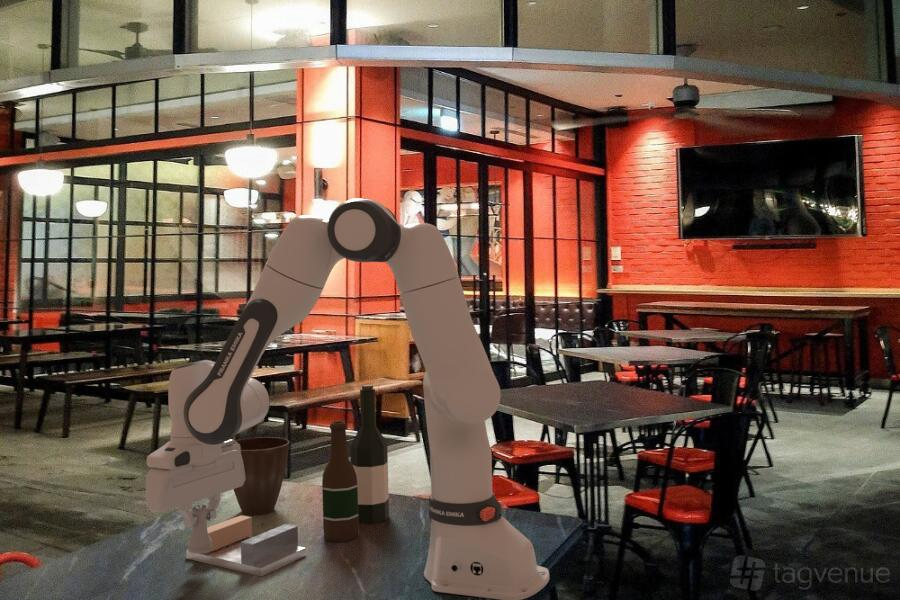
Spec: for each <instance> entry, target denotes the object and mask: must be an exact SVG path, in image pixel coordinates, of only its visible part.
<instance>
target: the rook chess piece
mask: <svg viewBox="0 0 900 600" xmlns="http://www.w3.org/2000/svg"><path fill="white" fill-rule="evenodd" d="M191 507H192V508H191V511H190V513H191V514H192V516H197V521H196V522H197V525H196V526H194V527H192V528H191V529H192V530H191V535H190V537H189V540H188V541H187V546H188V547H187V548H186V549H187V550H188V551H189V552H191V553H204V552H207V551H209V550H210V549H211V548H212V545H211V542H212V540H211V538H210V537H209V534H208V531H207V527H208V525H207V522H208V519H207V518H206V515H207V513H208V512H209V511H208V509H207V507H208V505H205V504H202V505H200V504H197V506H196V505H193V506H191Z"/></svg>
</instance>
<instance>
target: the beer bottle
mask: <svg viewBox="0 0 900 600" xmlns="http://www.w3.org/2000/svg"><path fill="white" fill-rule="evenodd" d="M329 424H330V425H329V429H330V448H329V449H330V453H329V461H328V462H327V464H326V465H325V467H324V470H323V473H322V478H321V479H322V480H321V484H322V485H321V487H322V488H321V489H322V490H321V491H322V517H323V518H322V521H323V523H322V525H323V538H324V540H325V541H328V542H333V543H339V542H340V543H341V542H343V543H344V542H349V541H352V540H354V539H356V538H358V537H359V528H360V527H359V524H360V523H358V485H357V476H356V472H355V470H354V467H353V465H352V464H351V460H350V459H349V454H348V442H347V433H346V432H347V431H346V429H347V428H348V426H347V423H346V422H345V421H341V420H339V421H338V420H337V421H332V422H330V423H329Z"/></svg>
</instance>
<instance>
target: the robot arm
mask: <svg viewBox="0 0 900 600" xmlns="http://www.w3.org/2000/svg"><path fill="white" fill-rule="evenodd" d="M344 259H346V260H348V261H351V262H355V263H356V262H357V263H385V264H387V266H388V267H389V268H390V270H391V271H392V274H393V277H394V279H395V283H396V287H397V290H398V293H399V296H400V297H399V298H400V300H401V301H400V302H401V303H402V307H403V311H404V315H405V318H406V320H407V324H408V327H409V331H410V334H411V336H412V339H413V341H414V344H415V346H416V348H417V351H418V354H419V356H420V358H421V361H422V364H423V367H424V370H425V372H424V375H423V378H422V385H423V386H422V388H423V400H424V411H425V421H426V430H427V438H428V446H429V455H430V459H429V460H430V463H429V465H430V492H431V493H430V495H429V496H428V515H429V516H428V517H429V518H428V519H429V522H430V534H429V535H430V536H429V547H428V552H427V553H428V554H427V558H426V564H425V566H424V570H423V576H424V578H425V579H426V580H427V581H428V582H429V583H430V585H431V590H432V591H434V592H437V593H445V594H452V595H460V596H461V595H462V596H470V597H475V598H477V597H478V598H484V599H492V600H493V599H495V600H524V599H527V598H529V597H532V596H533V595H536V594H537V593H538V592H540V591H541V590H542V589H544V588H545V587H546V585H547V584H548V583H549V581H550V576H551V575H550V570H549V568H547V567H544V566H540V565H538V564H537V563H538V562H537V558H536V552H535V549H534V545H533V543H532V542H531V540H530V539H528V537H526V536H525V535H524V534H523V533H522V532H520V530H518V529H517V528H516V527H514V525H512V524H511V523H510V521H508V520H507V519H506V518H505V517H503V513H502V509H503V508H505V507H506V504H505V503H506V502H507V501H506V499H503V500H501V501H499V500H498V499H497V497H496V495H495V494H494V493H493V467H492V465H493V463H492V459H493V458H492V448H491V445H490V444H491V443H490V441H489V437H488V431H487V430H488V429H487V425H486V421H487V420H489V419H490V418H491V417H492V416H494V414H495V413H496V412H497V410H498V408H499V405H500V402H501V397H502V396H501V395H502V394H501V392H502V391H501V387H500V384H499V382H498V380H497V378H496V376H495V373H494V371H493V368H492V365H491V363H490V360H489V358H488V354H487V353H486V350H485V348H484V345H483V343H482V340H481V338H480V336H479V332H478V331H477V329H476V327H475V324H474V322H473V319H472V316H471V313H470V310H469V306H468V303H467V299H466V295H465V292H464V289H463V286H462V282H461V279H460V276H459V272H458V270H457V266H456V263H455V261H454V258H453V255H452V253H451V251H450V249H449V246H448V244H447V242H446V240H445V237H444V236H443V234H442V232H441V230H439V228H438V227H437V226H435V225H434V224H431V223H427V222H415V223H411V224H401V223H399V222H398V220H397V218H396V216H395V214H394V213H393V212H392V211H391V210H390V208H388V207H386V206H385V205H383V204H382V202H381V203H380V202H378V201H376V200H373V199H369V198H359V197H358V198H351V199H348V200H346V201H343V202H342V203H340V204H339V205H337V206H336V207H335V209H334V210H333V211H332V212H331V214H330V216H329V218H328V220H327V219H323V218H320V217H318V216H315V215H310V214H309V215H308V214H305V215H303V214H302V215H301V214H300V215H298V216H295V217H294V218H292V219H291V220H290V221H289V222H288V224H287V225H286V227H285V228H284V230H283V231H282V233H281V234H280V236H279V237H278V238H277V241H276V242H275V243H274V246H273V248H272V250H271V252H270V254H269V256H268V259H267V260H266V263H265V264H264V266H263V269H262V271H261V274H260V276H259V278H258V281H257V283H256V285H255V287H254V289H253V292H252V293H251V295H250V298H249V299H248V301H247V303H246V305H245V307H244V308H243V311H242V312H241V315H240V316H239V318H238V319H237V321H236V323H235V324H234V326H233V327H232V330H231V331H230V334H229V335H228V337H227V339H226V341H225V343H224V345H223V347H222V349H221V350H220V353H219V355H218V356H217V359H216V360H215V362H214V361H213V360H209V359H204V360H202V359H201V360H198V361H194V362H189V363H185V364H181V365H178V366H176V367H174V369H173V370H171V373H170V375H169V378H168V379H169V380H168V390H167V391H168V397H167V398H168V414H169V416H170V419H171V429H170V437H169V438H170V440H169V441H167V442H166V443H164V444H163V445H162V446H161V447H159V448H158V449H156V450H154V451H153V452H151V453H150V454H149V455H147V456H146V464H147V467H148V468H151V469H149V470H148V472H147V474H146V478H145V503H146V504H145V505H146V507H147V508H148V509H149V510H150V511H151V512H153V513H159V514H164V513H166V512H170V511H172V510H175V509H177V512H179V514H180V515H181V517H182V518H183V524H184V527H185V528H187V529H190V528H191V529H193V527H194V526H196V525H197V522H196V521H197V516H192V514H191V513H190V512H191V511H190V510H192V507H193V506H192V504H194V503H196V502H199V501H203V500H206V499H207V500H209V501H208V505H207V509H208V511H209V512H208V513H207V515H206V518H207V519H208V520H207V522H208V521H209V522H210V521H212V520H215V519H217V509H218V506H219V504H220V502H221V500H222V499H221V494H223V493H226V492H229V491H232V490H234V489H235V488H238V487H241V486H243V484H244V482H245V470H244V464H243V459H242V455H241V447H240V444H239V443H238V442H236V441H235V440H234V439H231V438H233V437H234V436H237V435H238V434H240V433H243V432H245V431H247V430H248V429H250V428H252V427H255V426H256V425H258V424H259V423H260V422H262V421H263V420H265V418H266V416H267V415H268V413H269V411H270V405H271V401H270V400H271V399H270V395H269V391H268V390H267V387H265V385H264V384H263V383H262V382H261V381H260V380H258V379H256V378H254V377H252V375H253V374H254V371H255V370H256V368H257V366H258V363H259V362H260V359H261V357H262V356H263V354H264V353H265V351H266V349H267V348H268V347H269V346H270V345H271V344H272V343H273V341H275V340H276V339H277V338H278V337H280V336H281V335H282V334H285V332H287V331H288V330H290V329H292V328H293V327H295V326H297V325H299V324H300V323H302V322H303V321H304V320H306V318H307V317H308V316H309V314H310V313H311V311H312V310H313V309H314V308H315V306H316V305H317V302H318V301H319V298H320V296H321V295H322V293H323V290H324V288H325V285H326V283H327V281H328V279H329V276H330V274H331V272H332V270H333V269H334V267H335V266H336V265H337V263H338V262H340V261H342V260H344Z"/></svg>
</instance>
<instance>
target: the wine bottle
mask: <svg viewBox="0 0 900 600" xmlns="http://www.w3.org/2000/svg"><path fill="white" fill-rule="evenodd" d="M359 396H360V397H359V398H360V399H359V404H360V405H359V406H360V410H359V411H360V427H359V429H358V430H357V433H356V435H355V436H354V438H353V440H352V442H351V444H350V445H349V447H350V448H349V449H350V462H351V464H352V465H353V467H354V470H355V472H356V476H357V485H358V523H359V524H370V525H372V524H373V525H374V524H377V523H378V524H379V523H382V522H386V521H387V520H388V518H389V517H390V504H389V503H390V500H389V497H390V496H389V463H388V462H389V460H388V459H389V457H388V456H389V455H388V442H387V440H386V439H385V438H384V436H383V435H382V433H381V431H380V430H379V428H378V426H377V417H376V416H377V413H376V412H377V411H376V388H374V385H373V384H362V385H361V388H360V389H359Z"/></svg>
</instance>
